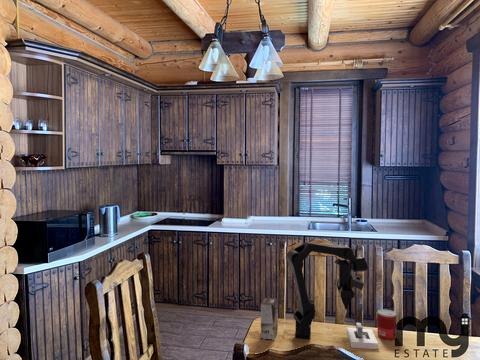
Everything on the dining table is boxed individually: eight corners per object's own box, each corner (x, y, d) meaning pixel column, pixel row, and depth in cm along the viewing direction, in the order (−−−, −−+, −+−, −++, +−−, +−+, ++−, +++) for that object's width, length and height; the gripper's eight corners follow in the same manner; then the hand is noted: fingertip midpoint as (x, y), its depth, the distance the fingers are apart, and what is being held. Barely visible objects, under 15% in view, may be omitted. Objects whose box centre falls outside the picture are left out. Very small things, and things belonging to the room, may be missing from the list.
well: (351, 347, 150) (351, 341, 150) (346, 332, 164) (346, 327, 164) (378, 349, 149) (378, 343, 148) (371, 334, 162) (371, 328, 162)
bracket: (357, 343, 154) (357, 327, 154) (356, 337, 159) (355, 322, 159) (367, 343, 154) (367, 327, 153) (365, 338, 158) (365, 323, 158)
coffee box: (274, 341, 157) (274, 305, 156) (260, 339, 159) (260, 304, 158) (278, 332, 166) (277, 298, 165) (264, 330, 167) (264, 297, 167)
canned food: (398, 341, 156) (398, 316, 156) (379, 339, 157) (379, 315, 157) (394, 333, 163) (394, 309, 163) (376, 331, 165) (376, 308, 165)
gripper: (366, 279, 155) (366, 314, 155) (359, 268, 174) (359, 299, 174) (340, 278, 157) (340, 313, 157) (336, 267, 175) (336, 298, 176)
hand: (345, 305), depth 166 cm, fingers open, 9 cm apart
